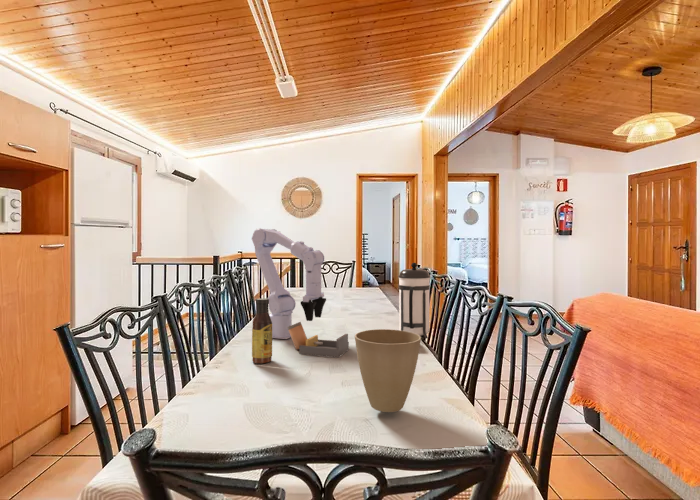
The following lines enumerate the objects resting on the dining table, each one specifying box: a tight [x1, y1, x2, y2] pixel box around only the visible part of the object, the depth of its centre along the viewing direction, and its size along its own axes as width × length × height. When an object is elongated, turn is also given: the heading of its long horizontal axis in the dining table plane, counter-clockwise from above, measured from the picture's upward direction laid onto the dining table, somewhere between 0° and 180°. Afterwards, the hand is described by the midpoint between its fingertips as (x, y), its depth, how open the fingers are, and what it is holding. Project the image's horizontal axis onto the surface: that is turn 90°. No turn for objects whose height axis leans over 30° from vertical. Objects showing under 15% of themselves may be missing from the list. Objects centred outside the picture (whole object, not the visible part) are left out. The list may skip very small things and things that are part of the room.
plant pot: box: [354, 328, 422, 413], centre depth 88 cm, size 15×15×16 cm
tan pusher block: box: [306, 334, 323, 347], centre depth 135 cm, size 4×8×4 cm, turn 161°
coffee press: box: [398, 262, 431, 339], centre depth 156 cm, size 17×16×30 cm
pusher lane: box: [298, 333, 350, 359], centre depth 134 cm, size 14×11×6 cm
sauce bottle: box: [251, 297, 273, 365], centre depth 123 cm, size 6×6×20 cm
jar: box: [287, 321, 308, 351], centre depth 138 cm, size 5×5×8 cm
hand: (313, 318), depth 146 cm, fingers open, 7 cm apart
